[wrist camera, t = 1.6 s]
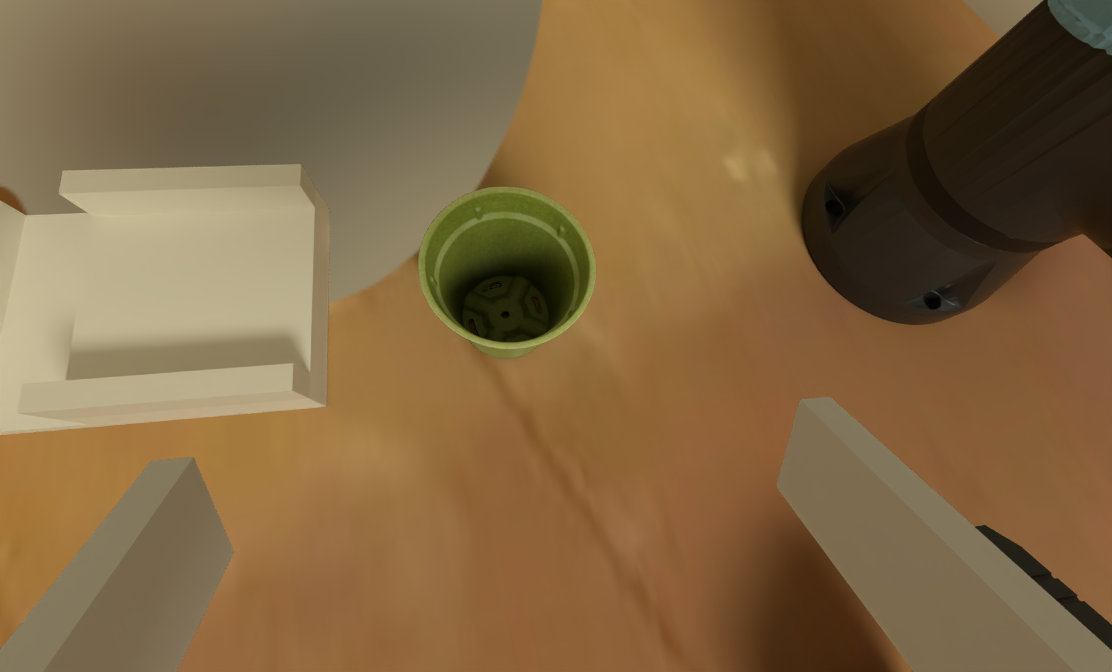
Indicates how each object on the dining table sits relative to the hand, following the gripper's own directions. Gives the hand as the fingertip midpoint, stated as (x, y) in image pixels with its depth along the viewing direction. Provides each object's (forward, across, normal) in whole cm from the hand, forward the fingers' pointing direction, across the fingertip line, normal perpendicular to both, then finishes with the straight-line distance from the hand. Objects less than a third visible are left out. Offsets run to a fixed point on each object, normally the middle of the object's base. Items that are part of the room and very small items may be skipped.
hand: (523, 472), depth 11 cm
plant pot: (+23, +1, -7) cm, 24 cm away
